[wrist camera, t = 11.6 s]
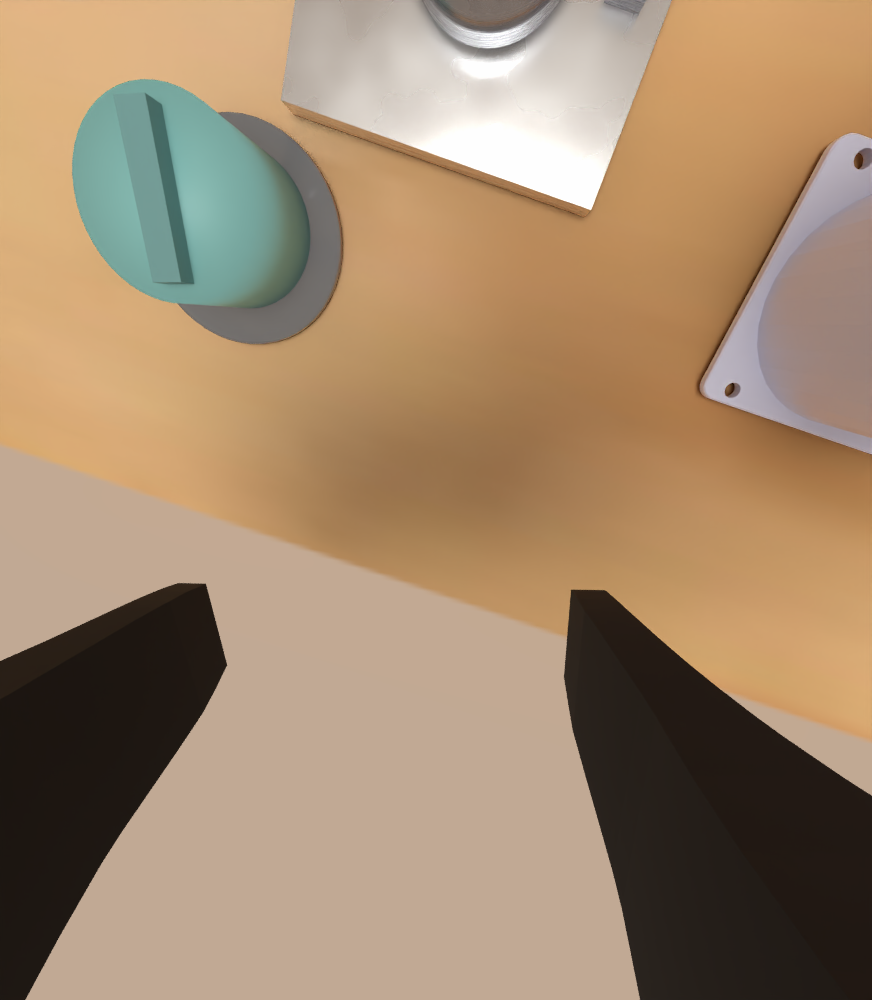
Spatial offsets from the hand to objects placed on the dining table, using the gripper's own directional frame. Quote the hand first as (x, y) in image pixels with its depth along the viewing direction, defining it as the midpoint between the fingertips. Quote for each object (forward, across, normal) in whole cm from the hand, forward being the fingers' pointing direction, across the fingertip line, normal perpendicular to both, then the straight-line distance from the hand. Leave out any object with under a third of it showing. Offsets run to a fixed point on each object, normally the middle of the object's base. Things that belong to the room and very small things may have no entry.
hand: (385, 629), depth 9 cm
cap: (+10, +6, -9) cm, 15 cm away
